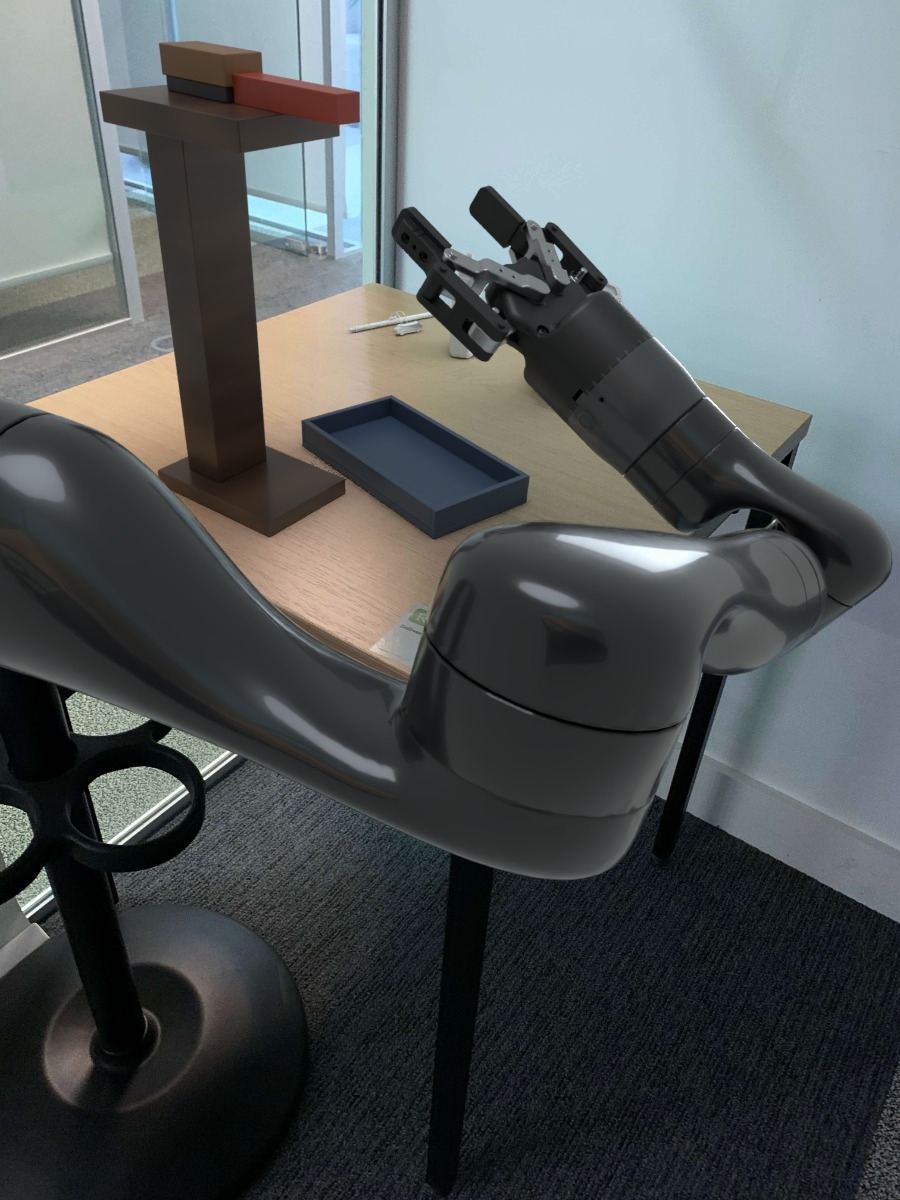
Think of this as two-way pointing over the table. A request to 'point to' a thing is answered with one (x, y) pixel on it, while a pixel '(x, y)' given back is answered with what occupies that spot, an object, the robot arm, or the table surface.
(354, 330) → the picture light
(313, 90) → the brush
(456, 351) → the eye dropper bottle
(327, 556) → the table surface
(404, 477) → the tray
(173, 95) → the shelf stand
